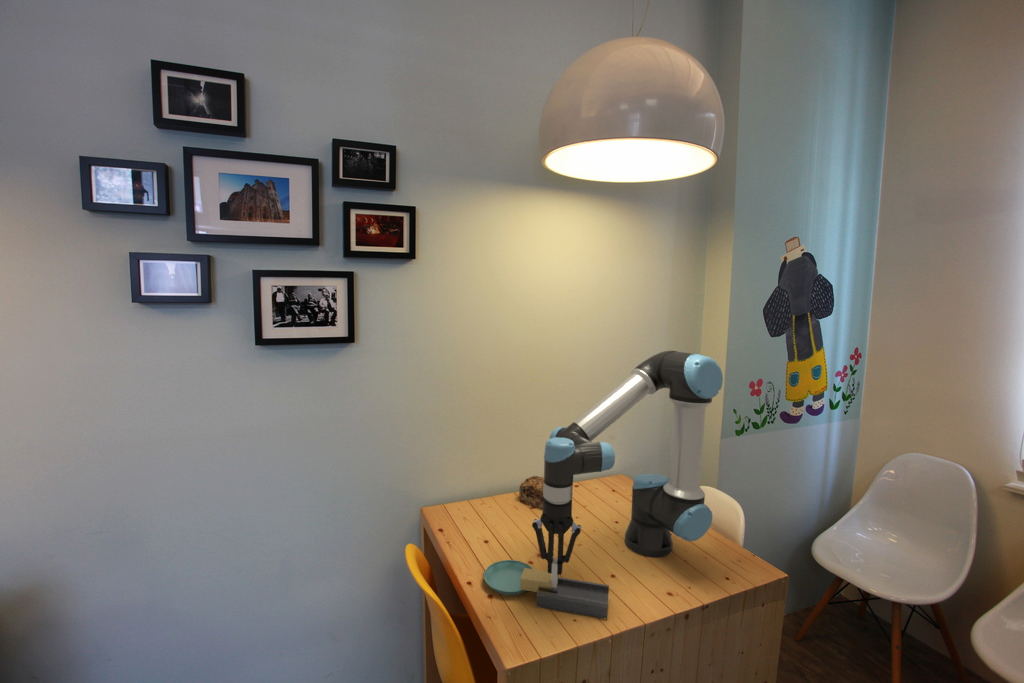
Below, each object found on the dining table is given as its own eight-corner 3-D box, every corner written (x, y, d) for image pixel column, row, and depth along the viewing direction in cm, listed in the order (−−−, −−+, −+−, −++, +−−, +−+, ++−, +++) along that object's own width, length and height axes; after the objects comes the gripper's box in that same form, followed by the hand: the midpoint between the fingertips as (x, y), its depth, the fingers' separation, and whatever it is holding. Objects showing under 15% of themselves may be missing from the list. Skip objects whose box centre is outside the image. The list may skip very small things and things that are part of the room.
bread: (572, 507, 177) (573, 482, 176) (557, 517, 168) (558, 491, 168) (533, 494, 188) (534, 470, 187) (517, 502, 180) (518, 477, 179)
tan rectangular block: (553, 582, 124) (553, 572, 124) (550, 594, 119) (550, 583, 119) (524, 578, 126) (524, 567, 125) (520, 589, 121) (520, 578, 121)
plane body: (608, 599, 122) (608, 585, 122) (607, 619, 115) (608, 604, 114) (541, 588, 126) (542, 574, 126) (536, 606, 119) (536, 592, 118)
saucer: (476, 574, 133) (477, 565, 132) (523, 564, 138) (523, 556, 138) (493, 606, 119) (494, 596, 119) (545, 593, 124) (545, 584, 124)
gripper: (583, 495, 121) (580, 580, 123) (535, 489, 124) (532, 572, 126) (581, 507, 114) (578, 597, 116) (530, 501, 117) (527, 589, 119)
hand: (554, 584), depth 121 cm, fingers closed
